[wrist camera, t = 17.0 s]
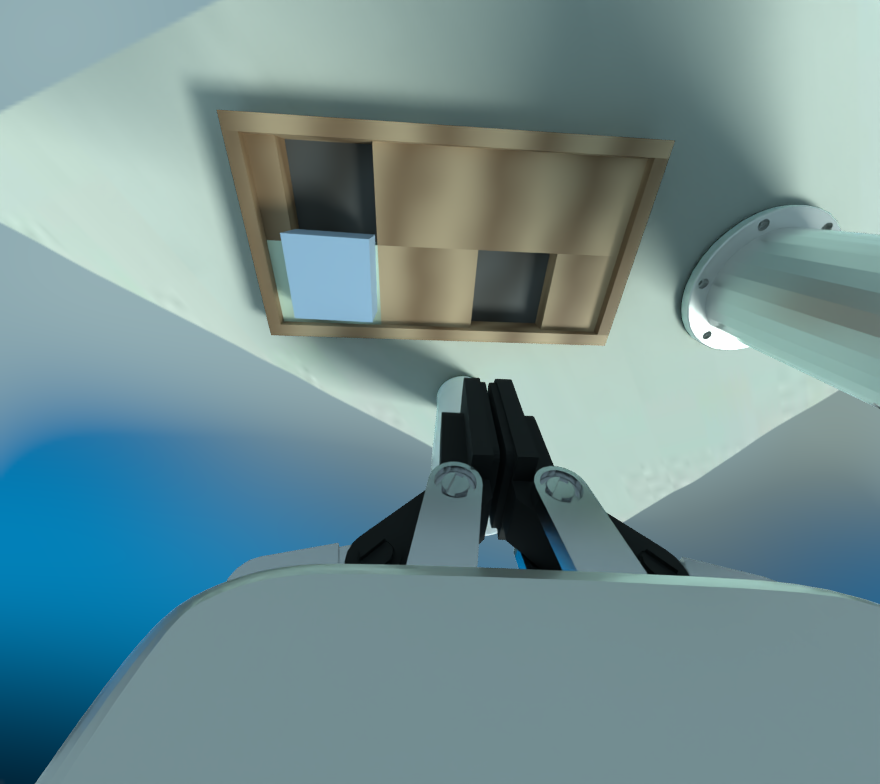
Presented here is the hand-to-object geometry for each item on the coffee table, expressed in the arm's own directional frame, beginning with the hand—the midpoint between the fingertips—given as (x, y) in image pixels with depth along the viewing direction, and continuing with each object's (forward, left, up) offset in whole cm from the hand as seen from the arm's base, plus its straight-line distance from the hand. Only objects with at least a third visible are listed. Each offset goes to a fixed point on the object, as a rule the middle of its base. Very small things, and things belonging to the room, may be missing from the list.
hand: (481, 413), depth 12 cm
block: (+9, -1, -18) cm, 20 cm away
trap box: (+1, -3, -20) cm, 20 cm away
